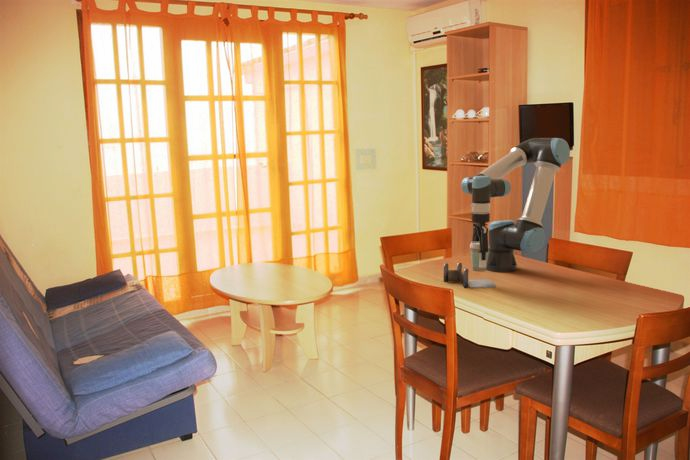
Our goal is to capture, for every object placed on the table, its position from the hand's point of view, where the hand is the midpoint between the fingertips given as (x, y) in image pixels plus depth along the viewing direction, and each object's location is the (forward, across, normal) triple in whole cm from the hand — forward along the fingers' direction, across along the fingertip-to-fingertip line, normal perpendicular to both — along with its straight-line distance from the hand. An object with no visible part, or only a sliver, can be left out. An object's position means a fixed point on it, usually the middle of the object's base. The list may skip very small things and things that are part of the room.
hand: (479, 264), depth 255 cm
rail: (+9, -2, -10) cm, 13 cm away
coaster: (+9, 0, 0) cm, 9 cm away
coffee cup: (+3, 0, 0) cm, 3 cm away
